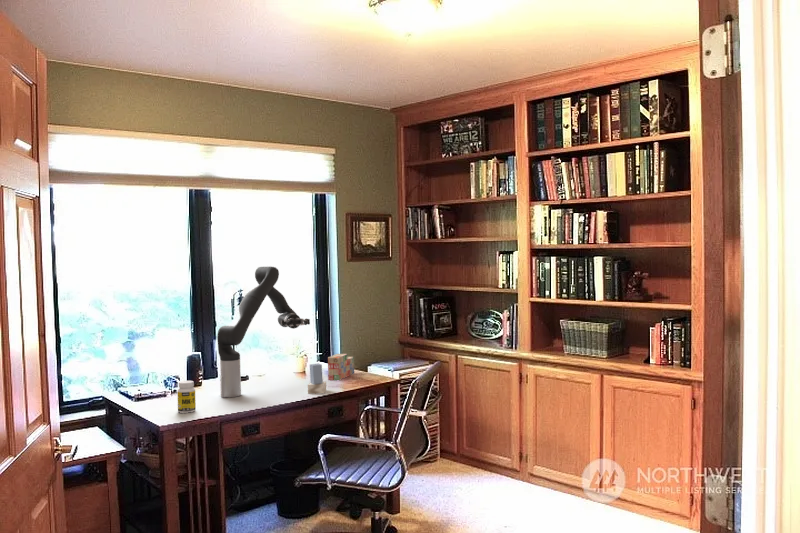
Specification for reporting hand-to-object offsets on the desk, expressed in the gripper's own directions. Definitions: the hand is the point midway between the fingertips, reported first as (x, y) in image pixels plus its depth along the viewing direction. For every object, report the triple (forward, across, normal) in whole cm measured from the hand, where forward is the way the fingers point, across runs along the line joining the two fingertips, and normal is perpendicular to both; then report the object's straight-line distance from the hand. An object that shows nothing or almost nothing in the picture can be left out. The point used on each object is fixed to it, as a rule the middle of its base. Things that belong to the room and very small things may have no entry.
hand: (297, 323), depth 327 cm
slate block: (+15, +6, +28) cm, 32 cm away
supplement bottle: (+31, -54, +33) cm, 70 cm away
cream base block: (+15, +6, +32) cm, 36 cm away
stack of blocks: (-18, +26, +32) cm, 45 cm away
